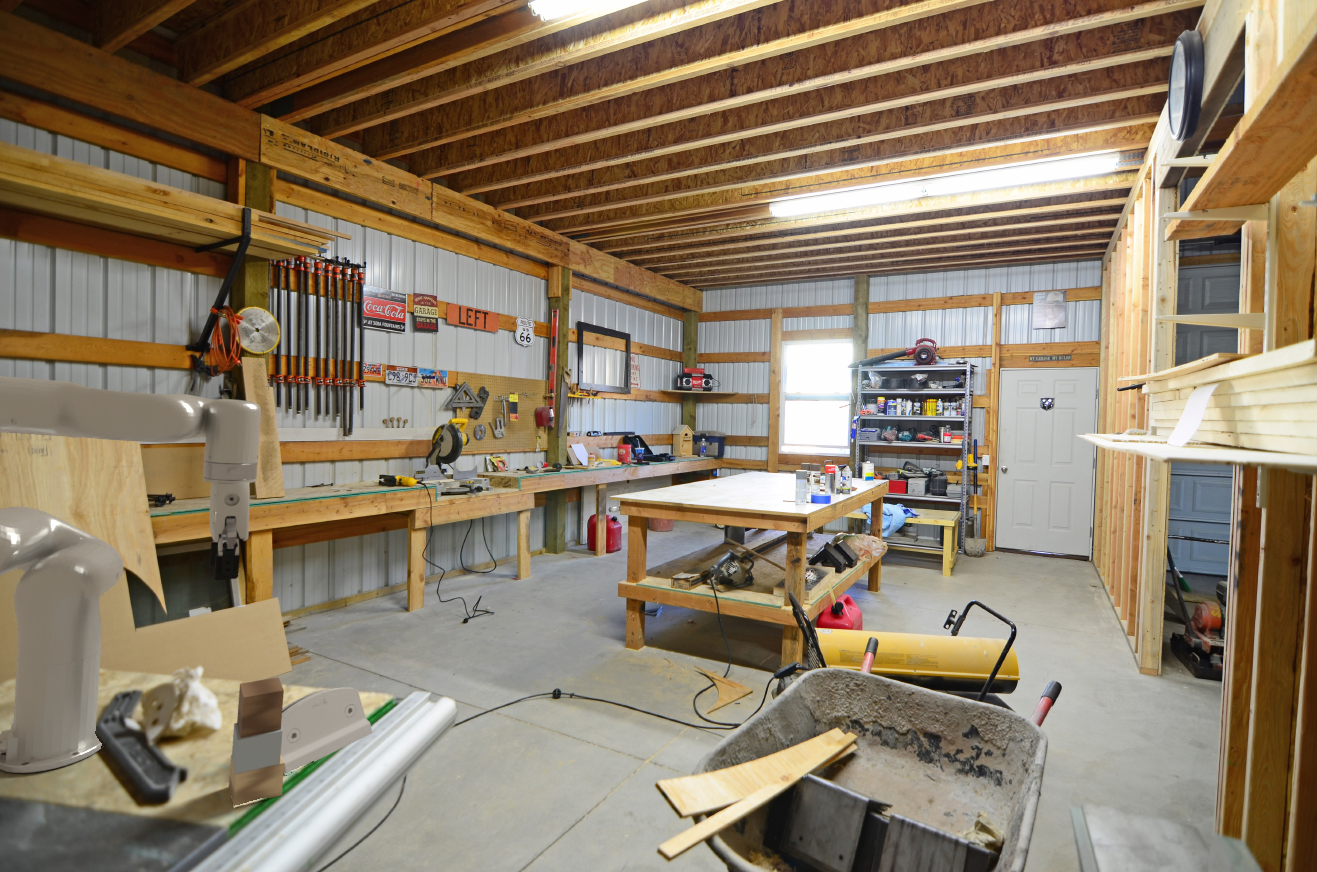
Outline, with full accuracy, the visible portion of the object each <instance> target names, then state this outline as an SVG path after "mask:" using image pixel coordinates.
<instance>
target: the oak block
mask: <svg viewBox="0 0 1317 872" xmlns="http://www.w3.org/2000/svg"><path fill="white" fill-rule="evenodd" d="M228 783H229V784H228V789H229V788H230V790H229V793H230V792H231V795H230V797H231V796H232V799H231V802H232V801H233V804H232V806H233V805H234V806H235V805H240V804H243V803H247V802H249V801H253V800H257V799H260V798H265V797H268V798H269V799H273V798H276V797H280V796H283V784H284V761H283V758H282V755H281V756H280V764H277V765H273V766H268V767H264V768H260V769H256V770H252V771H248V772H244V773H240V774H236V775H235V770H234V764H233V759H232V754H231V755H230V767H229V780H228ZM269 799H268V800H269Z"/></svg>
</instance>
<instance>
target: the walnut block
mask: <svg viewBox="0 0 1317 872" xmlns="http://www.w3.org/2000/svg"><path fill="white" fill-rule="evenodd" d="M238 693H239V694H238V705H237V707H238V708H237V718H236V719H237V720H236V723H237V725H238V729H239V733H240V738H244V737H249V736H254V735H258V734H263V733H268V732H272V731H277V730H281V721H282V708H284V705H283V704H284V693H285V690H284V687H283V685H282V683H281V680H280V677H279V676H278V677H272V678H266V679H261V680H254V681H253V680H252V681H249V682H241V683H239V692H238Z"/></svg>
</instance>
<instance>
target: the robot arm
mask: <svg viewBox="0 0 1317 872" xmlns="http://www.w3.org/2000/svg"><path fill="white" fill-rule="evenodd" d="M261 409H262V408H261V406H260V405H259V404H258V403H257V402H255V401H252V400H251V401H250V400H241V399H230V398H229V399H228V398H217V399H214V398H207V397H203V396H196V395H193V394H192V395H191V394H186V393H170V394H169V393H166V394H163V393H162V394H161V393H148V392H147V393H146V392H137V391H136V392H135V391H124V390H112V389H102V388H96V387H95V388H94V387H89V386H87V385H86V386H85V385H83V384H80V383H77V382H73V381H65V380H56V379H55V380H53V379H51V380H50V379H41V378H39V379H38V378H30V377H17V376H7V375H6V376H4V375H0V433H4V434H5V433H6V434H21V435H22V434H24V435H39V436H54V437H66V438H67V437H68V438H77V439H78V438H79V439H80V438H85V439H87V438H88V439H99V440H108V441H109V440H110V441H123V442H124V441H125V442H128V441H129V442H142V443H143V442H144V443H158V444H159V443H165V444H166V443H167V444H168V443H176V442H181V441H183V440H188V439H198V438H205V443H204V444H205V445H204V457H203V458H204V459H203V460H204V461H203V470H202V471H203V472H202V482H206V483H211V484H210V493H209V494H210V496H209V497H210V499H209V532H210V535H211V538H212V542H211V544H210V554H209V565H210V566H214V575H213V576H214V580H216V581H225V580H235V579H238V577H239V568H240V556H241V555H240V543H239V542H240V540H239V539H241V540H242V541H243V542H245V541H247V540H248V539H249V535H250V534H249V528H250V527H249V526H250V525H249V523H250V506H251V505H250V503H251V502H250V498H251V496H250V494H251V491H250V490H251V489H250V484H251V483H255V482H257V475H258V464H259V463H258V462H259V461H258V460H259V450H260V449H259V448H260V447H259V445H260V433H261V419H262V417H261V416H262V410H261ZM124 564H125V563H124V560H123V557H122V555H121V554H120V552H119V551H118V550H117V549H116V548H115V547H114V546H113V545H111V544H109V543H108V542H107V541H104V540H103V539H101V538H99V537H96V536H94V535H93V534H92V533H91V534H90V533H89V532H87V531H84V530H83V529H81V528H78V527H77V526H74V525H73V524H71V523H69V522H66V521H65V520H63V519H61V518H59V517H57V516H55V515H53V514H51V513H48V512H45V511H43V510H40V509H36V508H33V507H28V506H10V507H9V506H8V507H3V508H0V577H1V576H3V575H6V574H8V573H10V572H13V571H15V570H16V569H17V570H20V571H22V572H24V573H23V574H22V575H21V576H20V578H19V580H18V582H17V584H16V586H15V587H16V588H15V589H14V595H13V596H14V597H13V605H14V611H15V613H14V614H15V617H16V625H17V644H16V645H17V646H16V647H17V648H16V649H17V651H16V676H15V691H14V706H13V707H14V708H13V722H12V724H11V726H10V728H9V729H6V730H2V731H1V733H0V770H1V771H3V772H6V773H15V774H17V773H18V774H25V773H38V772H44V771H49V770H53V769H58V768H61V767H65V766H68V765H72V764H74V763H77V762H79V761H81V760H84V759H86V758H87V757H90V756H92V755H93V754H95V753H97V752H98V751H99V750H101V749H102V748H101V746H102V743H101V742H100V741H99V739H98V738H97V736H96V734H95V731H96V725H97V713H98V712H97V711H98V700H99V697H98V696H99V682H100V669H101V668H100V667H101V655H102V654H101V650H102V647H101V646H102V620H101V612H100V600H101V597H102V596H103V595H104V594H105V593H106V592H108V591H109V590H111V589H112V588H113V587H114V585H116V584H117V583H118V581H119V580H120V579H121V577H122V575H123V572H124V566H125V565H124Z"/></svg>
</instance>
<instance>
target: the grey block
mask: <svg viewBox="0 0 1317 872" xmlns="http://www.w3.org/2000/svg"><path fill="white" fill-rule="evenodd" d="M281 743H282V728H281V730H277V731H272V732H268V733H263V734H258V735H254V736H249V737H244V738H240V733H239V729H238V725H237V722H234V723H233V734H232V747H231V749H232V750H231V755H232V759H233V764H234V770H235V775H236V774H240V773H244V772H248V771H252V770H256V769H260V768H264V767H268V766H273V765H277V764H280V756H281Z"/></svg>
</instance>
